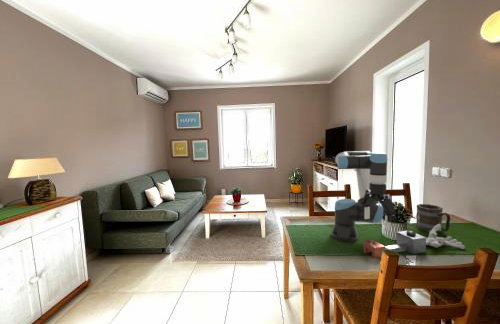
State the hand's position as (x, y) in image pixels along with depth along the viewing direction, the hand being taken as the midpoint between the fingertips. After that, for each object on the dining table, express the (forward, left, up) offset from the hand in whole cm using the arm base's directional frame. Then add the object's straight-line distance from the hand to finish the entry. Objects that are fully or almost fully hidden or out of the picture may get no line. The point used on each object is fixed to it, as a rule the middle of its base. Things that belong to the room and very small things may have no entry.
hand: (376, 223), depth 114 cm
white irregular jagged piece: (+31, +29, -17) cm, 46 cm away
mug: (+33, +51, -17) cm, 63 cm away
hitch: (+12, +11, -17) cm, 24 cm away
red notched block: (-1, -1, -17) cm, 17 cm away
